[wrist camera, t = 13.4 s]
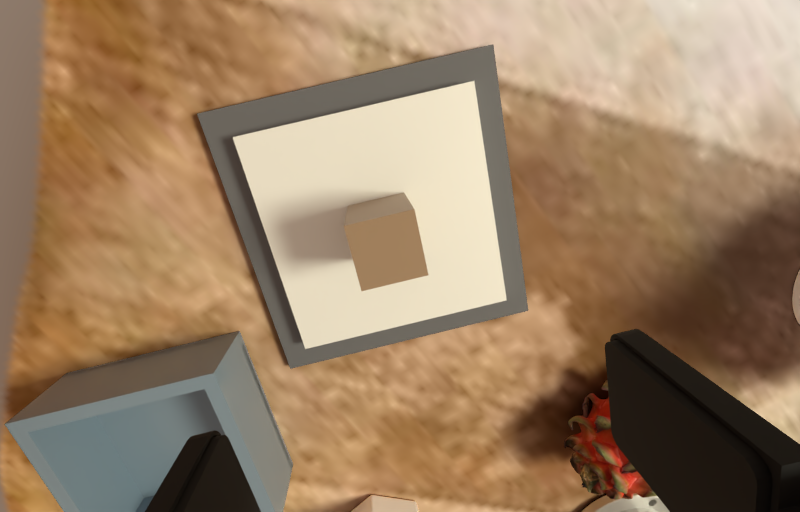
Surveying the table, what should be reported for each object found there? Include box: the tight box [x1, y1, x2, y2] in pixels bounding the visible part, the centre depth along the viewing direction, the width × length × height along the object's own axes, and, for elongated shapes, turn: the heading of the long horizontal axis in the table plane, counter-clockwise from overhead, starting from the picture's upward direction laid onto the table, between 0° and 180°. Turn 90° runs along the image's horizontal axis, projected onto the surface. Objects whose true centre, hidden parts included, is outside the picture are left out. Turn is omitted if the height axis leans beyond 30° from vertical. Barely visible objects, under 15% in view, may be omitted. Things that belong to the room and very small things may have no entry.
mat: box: [197, 45, 528, 369], centre depth 30 cm, size 20×20×1 cm
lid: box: [233, 81, 507, 349], centre depth 26 cm, size 16×16×7 cm
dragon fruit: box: [564, 380, 657, 499], centre depth 34 cm, size 8×8×12 cm
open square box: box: [5, 331, 293, 512], centre depth 31 cm, size 14×14×6 cm
